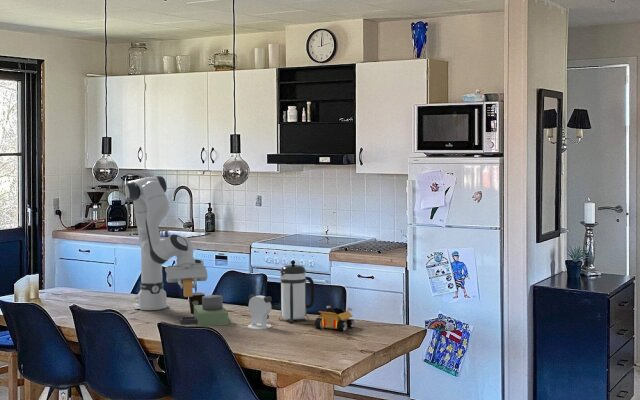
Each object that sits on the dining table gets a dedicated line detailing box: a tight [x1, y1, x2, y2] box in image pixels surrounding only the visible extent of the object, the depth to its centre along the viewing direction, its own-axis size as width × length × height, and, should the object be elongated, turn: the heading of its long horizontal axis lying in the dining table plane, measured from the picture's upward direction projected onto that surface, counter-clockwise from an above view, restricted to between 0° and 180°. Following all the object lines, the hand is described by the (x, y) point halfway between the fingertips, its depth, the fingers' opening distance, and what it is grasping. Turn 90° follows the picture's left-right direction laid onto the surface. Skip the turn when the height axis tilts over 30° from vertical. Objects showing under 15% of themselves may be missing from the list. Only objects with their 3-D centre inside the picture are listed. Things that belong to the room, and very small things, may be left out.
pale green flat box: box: [179, 294, 229, 327], centre depth 415 cm, size 24×22×12 cm
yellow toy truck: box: [314, 305, 355, 332], centre depth 396 cm, size 15×15×11 cm
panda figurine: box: [247, 293, 273, 330], centre depth 401 cm, size 12×11×15 cm
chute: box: [182, 279, 194, 298], centre depth 412 cm, size 4×4×8 cm
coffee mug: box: [188, 291, 206, 315], centre depth 437 cm, size 12×9×10 cm
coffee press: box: [278, 259, 315, 324], centre depth 416 cm, size 17×16×30 cm
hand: (188, 287), depth 412 cm, fingers closed on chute, 4 cm apart
